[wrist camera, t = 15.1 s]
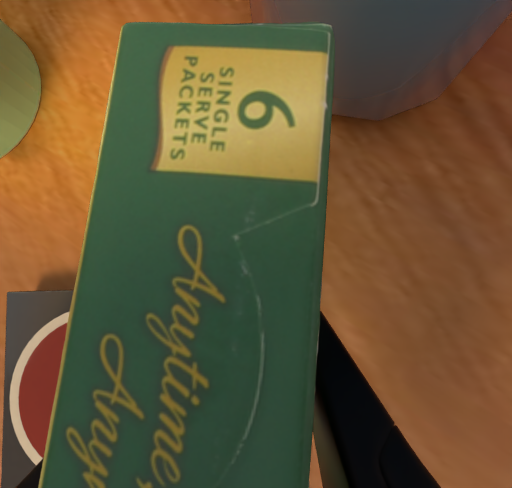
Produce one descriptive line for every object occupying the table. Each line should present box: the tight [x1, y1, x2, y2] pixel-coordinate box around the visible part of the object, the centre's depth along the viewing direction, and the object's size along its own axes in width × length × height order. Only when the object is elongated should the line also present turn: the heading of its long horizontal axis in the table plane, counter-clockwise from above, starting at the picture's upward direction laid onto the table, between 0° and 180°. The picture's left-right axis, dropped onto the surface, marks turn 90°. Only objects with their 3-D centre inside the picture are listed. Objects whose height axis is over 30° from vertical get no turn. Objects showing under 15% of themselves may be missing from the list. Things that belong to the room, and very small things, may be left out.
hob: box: [1, 290, 74, 488], centre depth 22 cm, size 17×15×3 cm
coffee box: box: [38, 22, 335, 488], centre depth 10 cm, size 8×3×13 cm, turn 174°
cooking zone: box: [10, 312, 69, 465], centre depth 21 cm, size 9×9×1 cm
